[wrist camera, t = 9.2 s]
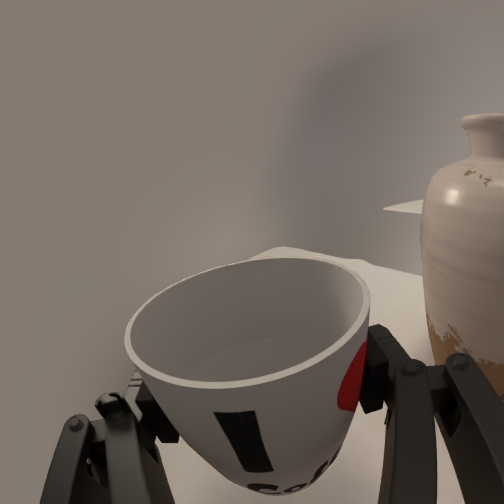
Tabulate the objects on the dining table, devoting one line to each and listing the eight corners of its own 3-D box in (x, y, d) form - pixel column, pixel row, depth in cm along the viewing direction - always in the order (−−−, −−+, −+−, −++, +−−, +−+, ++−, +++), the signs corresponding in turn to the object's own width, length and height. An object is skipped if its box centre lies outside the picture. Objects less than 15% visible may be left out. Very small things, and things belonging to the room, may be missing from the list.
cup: (250, 545, 7) (148, 441, 4) (187, 441, 14) (117, 299, 11) (387, 456, 10) (421, 288, 7) (298, 387, 17) (277, 245, 14)
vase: (509, 455, 9) (598, 110, 3) (377, 384, 23) (367, 117, 16) (549, 347, 16) (574, 130, 9) (450, 312, 29) (449, 125, 23)
